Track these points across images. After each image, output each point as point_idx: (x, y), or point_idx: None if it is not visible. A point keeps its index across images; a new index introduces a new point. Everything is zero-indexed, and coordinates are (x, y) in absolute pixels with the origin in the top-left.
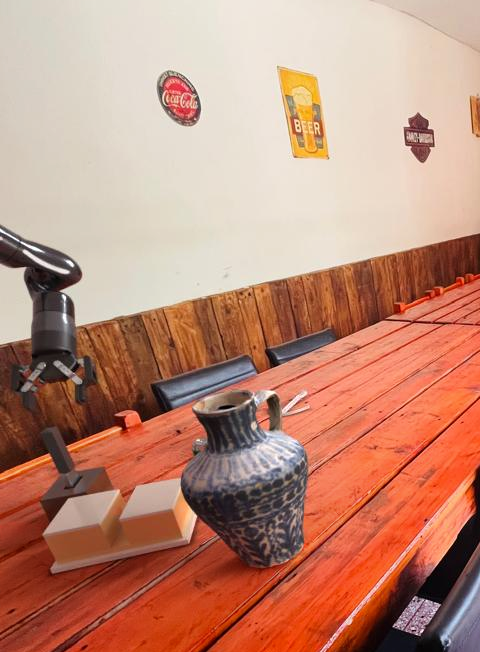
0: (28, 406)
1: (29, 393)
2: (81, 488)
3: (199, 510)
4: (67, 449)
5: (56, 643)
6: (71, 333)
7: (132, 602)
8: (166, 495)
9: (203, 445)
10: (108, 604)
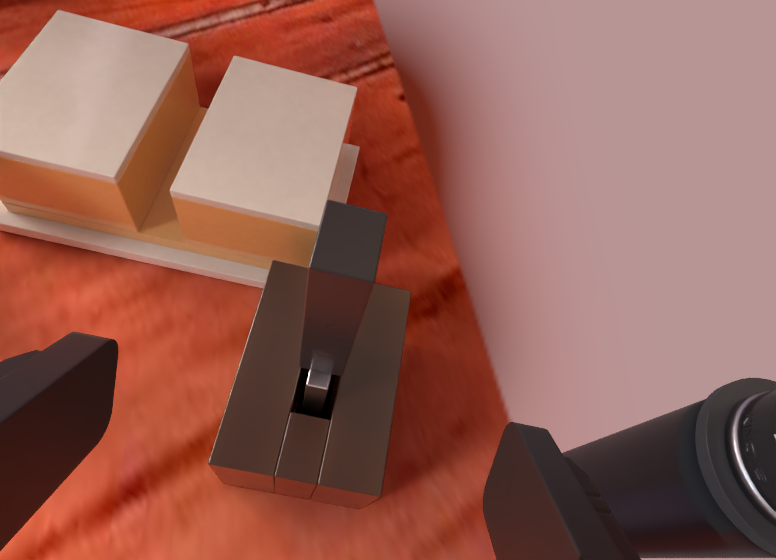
0: (523, 426)
1: (568, 535)
2: (290, 297)
3: None
4: (302, 331)
5: (323, 2)
6: None
7: (220, 10)
8: (48, 69)
9: None
10: (256, 27)
